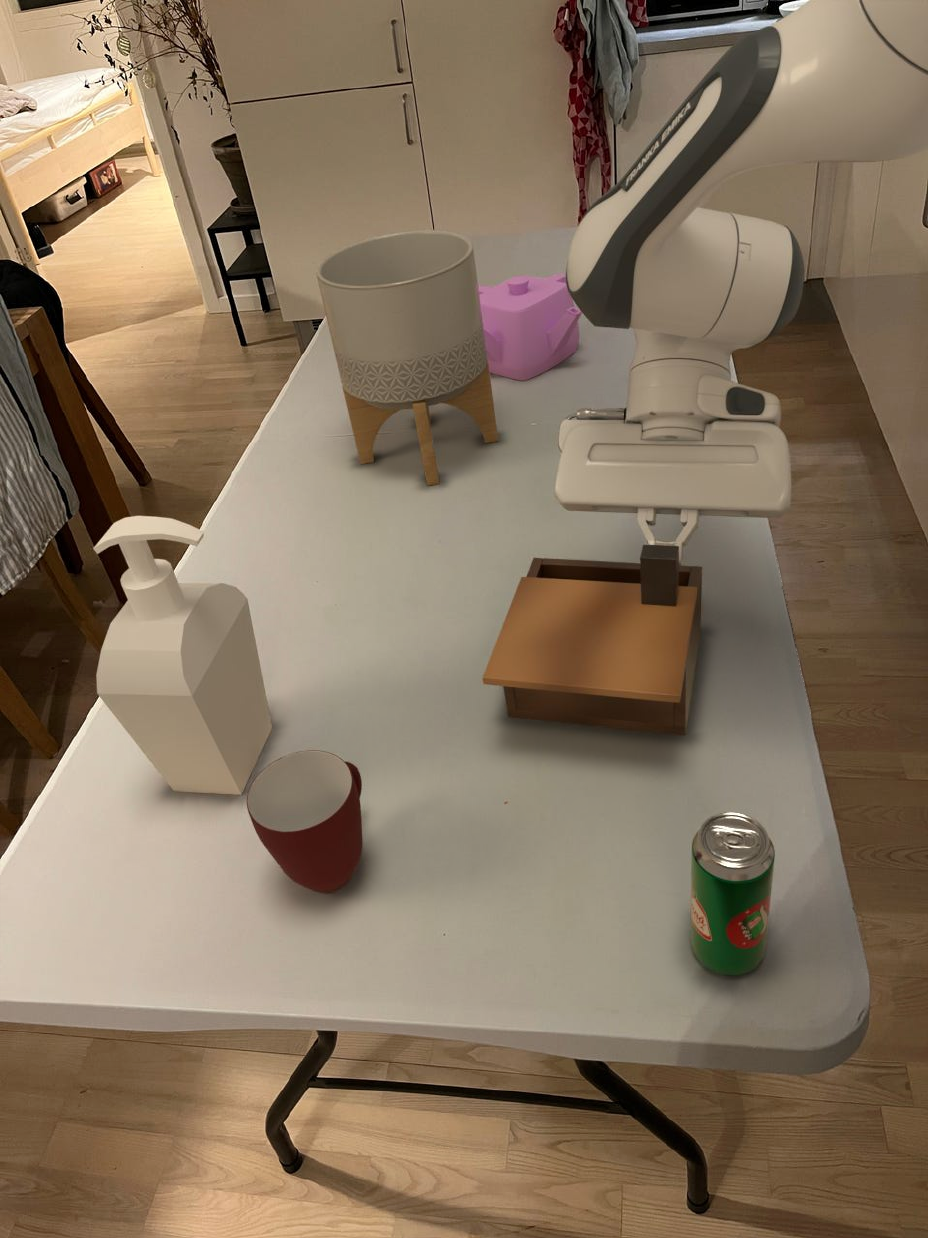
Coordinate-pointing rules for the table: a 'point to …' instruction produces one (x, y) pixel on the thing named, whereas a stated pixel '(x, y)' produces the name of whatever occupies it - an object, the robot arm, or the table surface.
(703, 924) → the soda can
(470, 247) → the planter
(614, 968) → the table surface
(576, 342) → the teakettle
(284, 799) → the mug
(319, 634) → the table surface
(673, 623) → the sliding lid
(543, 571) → the storage box
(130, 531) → the soap bottle
